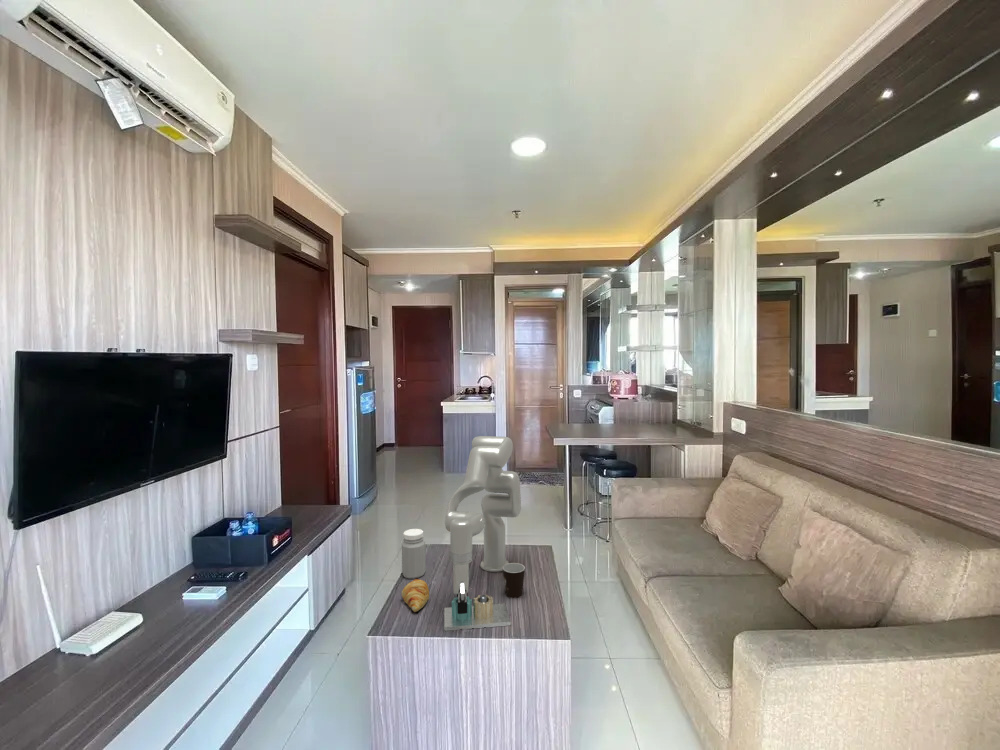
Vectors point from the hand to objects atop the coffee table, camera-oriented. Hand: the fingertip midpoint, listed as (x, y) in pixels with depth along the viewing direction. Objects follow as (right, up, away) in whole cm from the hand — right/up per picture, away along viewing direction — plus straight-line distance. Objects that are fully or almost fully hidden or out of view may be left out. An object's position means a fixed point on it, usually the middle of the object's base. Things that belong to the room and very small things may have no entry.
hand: (461, 605), depth 147 cm
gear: (0, -4, 0) cm, 4 cm away
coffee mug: (+19, -5, +19) cm, 27 cm away
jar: (-24, -6, +34) cm, 42 cm away
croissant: (-19, -5, +14) cm, 24 cm away
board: (+5, -5, +1) cm, 7 cm away
